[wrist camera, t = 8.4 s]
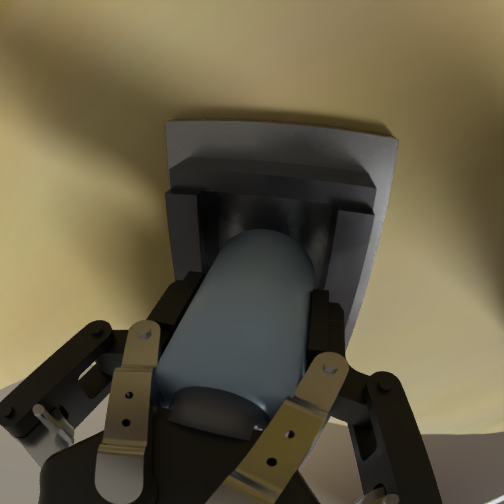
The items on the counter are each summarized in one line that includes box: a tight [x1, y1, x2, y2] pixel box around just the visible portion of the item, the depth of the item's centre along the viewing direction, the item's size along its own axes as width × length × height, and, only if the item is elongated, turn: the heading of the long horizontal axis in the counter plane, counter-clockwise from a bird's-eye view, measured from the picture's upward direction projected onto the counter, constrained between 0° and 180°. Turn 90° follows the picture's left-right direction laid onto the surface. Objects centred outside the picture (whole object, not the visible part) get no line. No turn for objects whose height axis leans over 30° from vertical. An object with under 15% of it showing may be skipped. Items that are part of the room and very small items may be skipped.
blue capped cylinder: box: [154, 229, 314, 441], centre depth 11 cm, size 5×5×9 cm
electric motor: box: [165, 119, 399, 472], centre depth 15 cm, size 24×12×13 cm, turn 179°
